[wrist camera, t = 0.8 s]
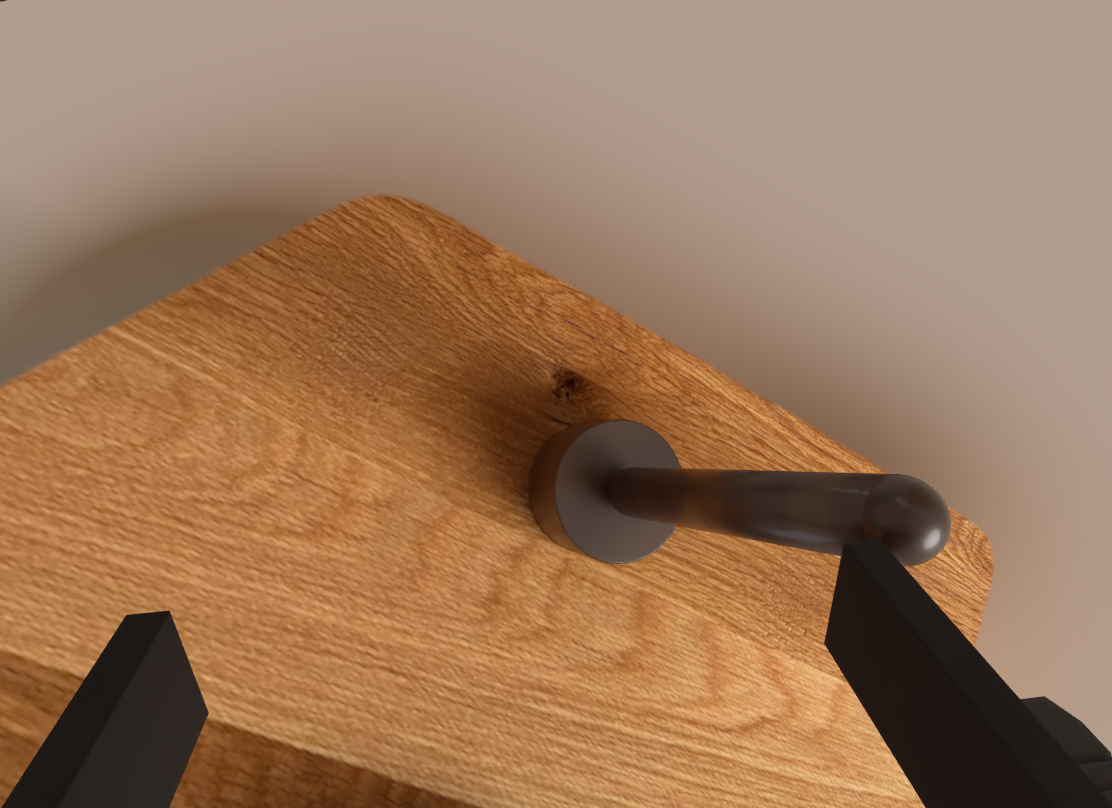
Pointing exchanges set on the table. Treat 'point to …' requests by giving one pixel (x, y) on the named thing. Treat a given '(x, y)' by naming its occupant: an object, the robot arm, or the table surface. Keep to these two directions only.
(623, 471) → the joystick lever
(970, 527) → the table surface
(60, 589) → the table surface
